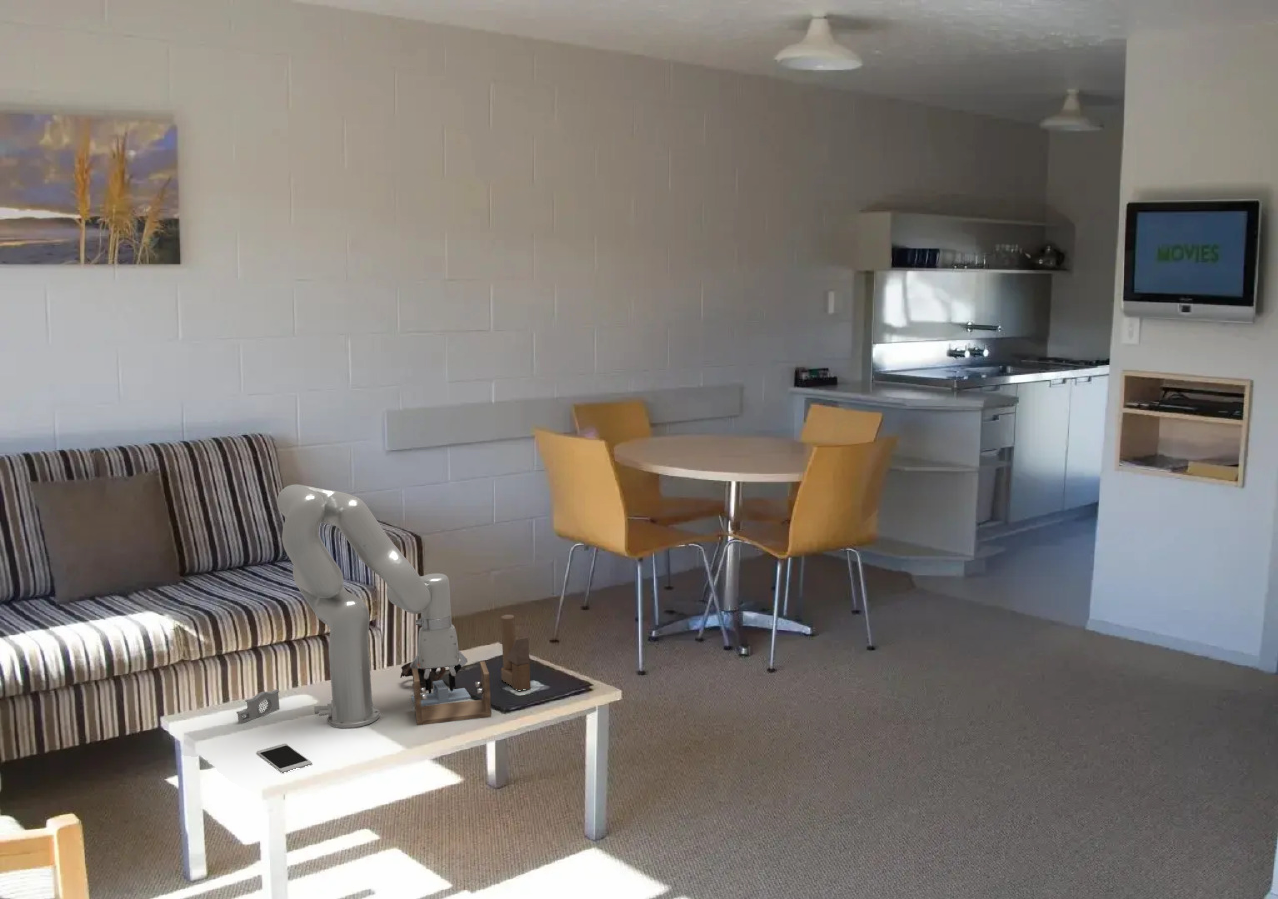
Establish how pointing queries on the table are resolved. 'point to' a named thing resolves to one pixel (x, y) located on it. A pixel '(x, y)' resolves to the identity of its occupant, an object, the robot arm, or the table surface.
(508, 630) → the wooden block
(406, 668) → the pottery mug
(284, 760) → the smartphone
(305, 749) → the table surface
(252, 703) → the garden wall model
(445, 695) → the shelf board
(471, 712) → the shelf unit
